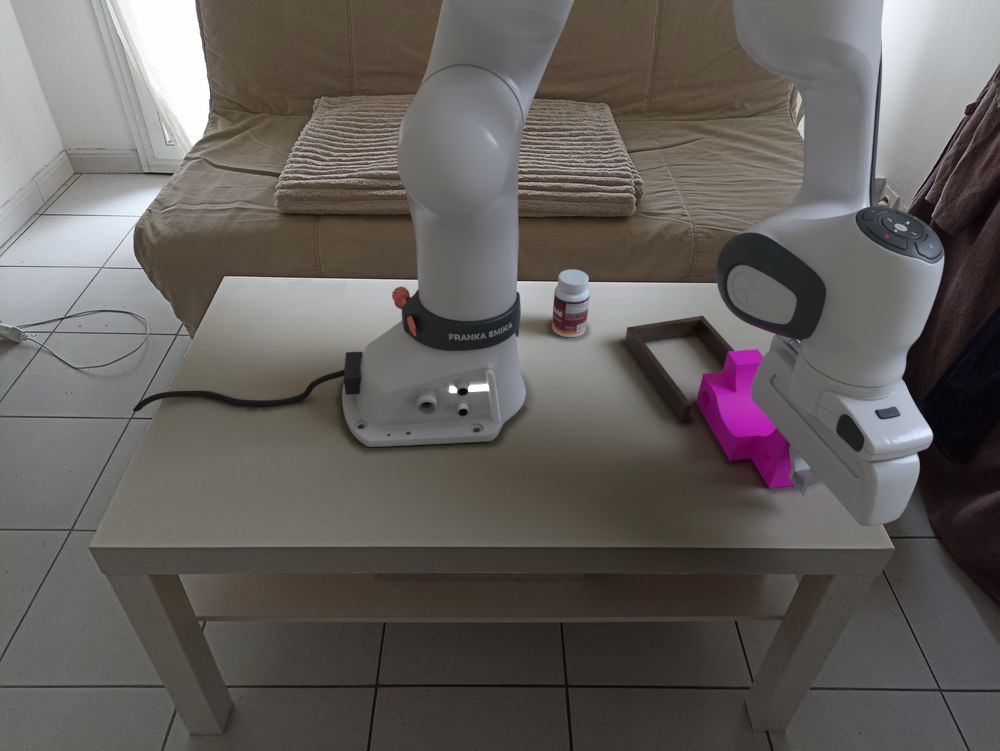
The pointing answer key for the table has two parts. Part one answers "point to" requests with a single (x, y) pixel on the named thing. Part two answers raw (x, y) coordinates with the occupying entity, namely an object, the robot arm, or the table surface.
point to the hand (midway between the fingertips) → (802, 487)
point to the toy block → (744, 418)
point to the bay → (666, 331)
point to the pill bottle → (571, 303)
